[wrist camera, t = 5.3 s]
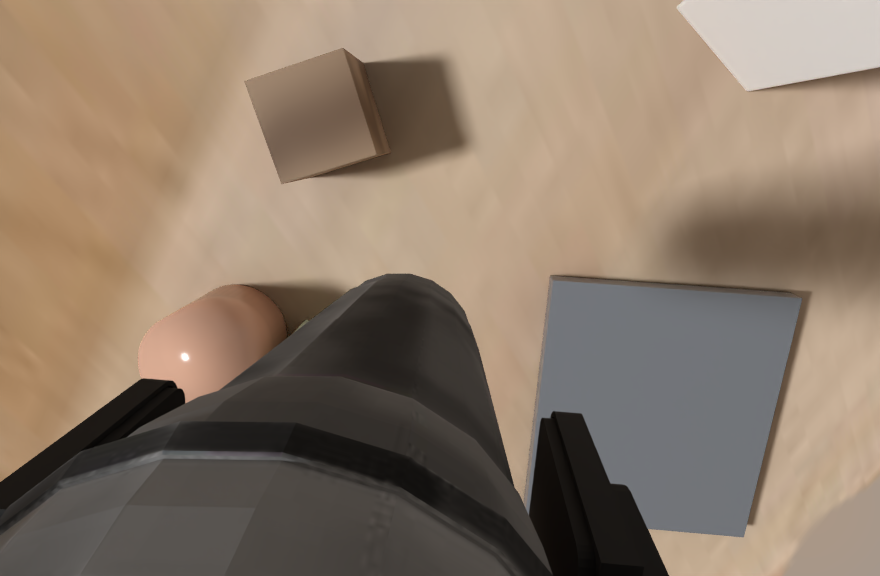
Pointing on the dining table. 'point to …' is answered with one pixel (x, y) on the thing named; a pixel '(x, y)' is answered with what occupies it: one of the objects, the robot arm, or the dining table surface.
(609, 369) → the slate board
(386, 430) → the beverage cup
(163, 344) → the peach rounded capsule
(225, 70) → the dining table surface
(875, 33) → the milk
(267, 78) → the walnut block
